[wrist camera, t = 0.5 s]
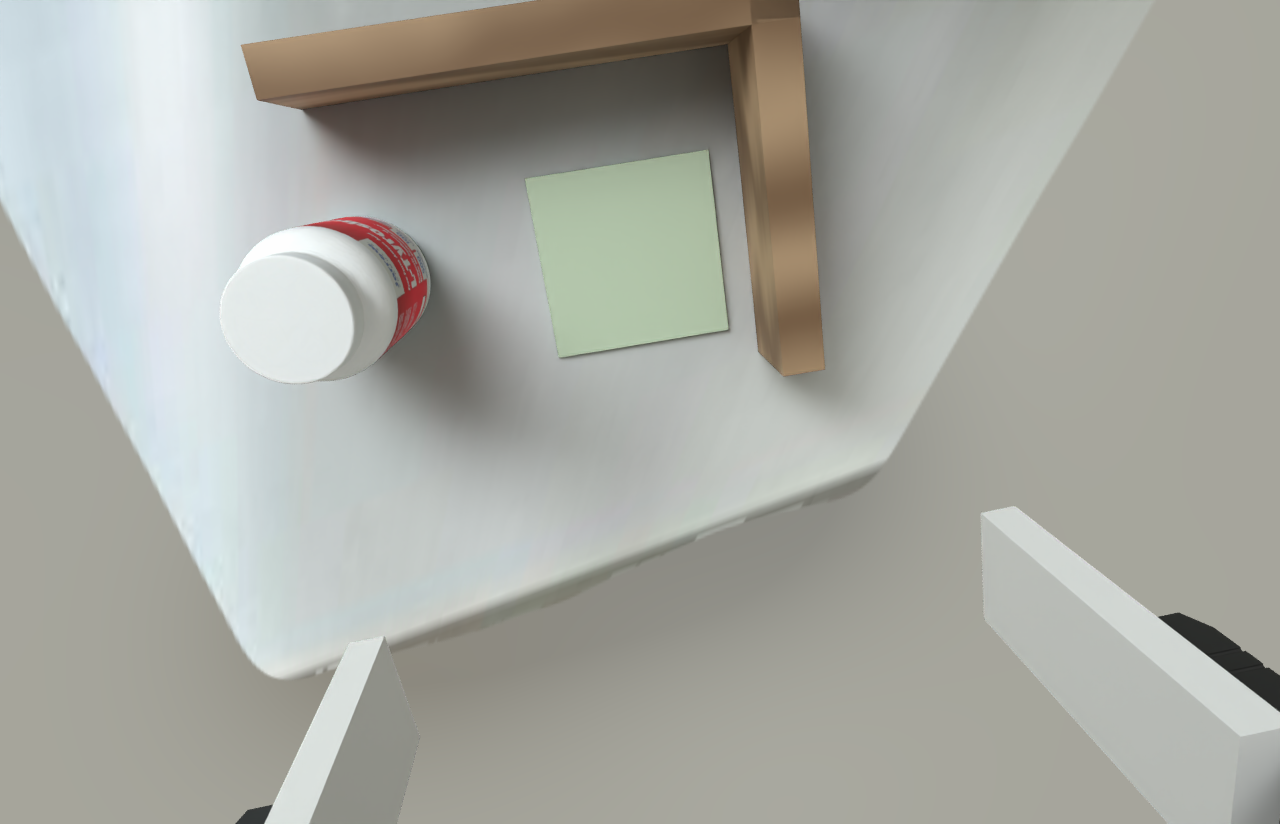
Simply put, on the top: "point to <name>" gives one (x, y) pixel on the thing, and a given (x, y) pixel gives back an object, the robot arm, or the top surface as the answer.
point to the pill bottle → (324, 299)
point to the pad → (629, 252)
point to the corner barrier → (600, 33)
